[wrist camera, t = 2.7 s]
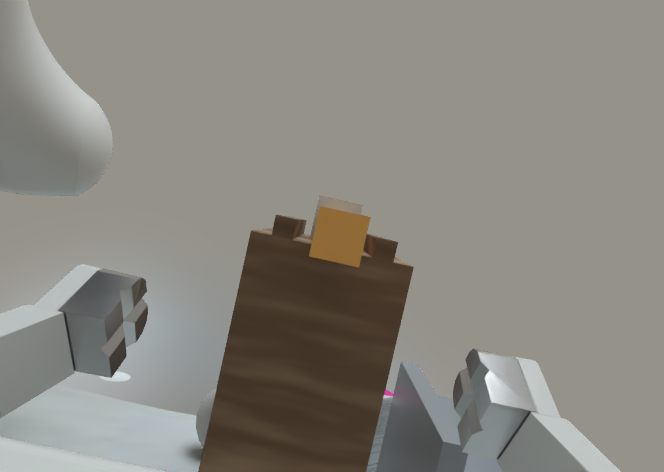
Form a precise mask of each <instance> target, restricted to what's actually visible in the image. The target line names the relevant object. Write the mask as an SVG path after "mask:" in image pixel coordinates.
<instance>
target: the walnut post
mask: <svg viewBox="0 0 664 472" xmlns="http://www.w3.org/2000/svg"><path fill="white" fill-rule="evenodd" d="M305 225H306V220H303V219H299V218H294V217H287V216H281V215H276V217H275V222H274V227H273V228H270V229H262V230H254V231H251V234H250V238H249V243H248V247H247V252H246V257H245V261H244V266H243V270H242V275H241V280H240V284H239V289H238V293H237V298H236V302H235V307H234V311H233V316H232V321H231V325H230V330H229V334H228V339H227V343H226V348H225V352H224V357H223V362H222V366H221V371H220V376H219V380H218V385H217V389H216V394H215V398H214V403H213V407H212V412H211V416H210V421H209V426H208V430H207V435H206V439H205V444H204V448H203V453H202V458H201V462H200V467H199V471H198V472H366V471H367V466H368V462H369V458H370V453H371V449H372V445H373V440H374V436H375V432H376V427H377V423H378V419H379V414H380V410H381V406H382V401H383V397H384V393H385V388H386V384H387V380H388V375H389V371H390V367H391V362H392V358H393V354H394V349H395V345H396V341H397V337H398V332H399V328H400V324H401V319H402V315H403V311H404V306H405V302H406V298H407V293H408V289H409V285H410V280H411V276H412V272H413V266H411V265H409V264H407V263H405V262H403V261H401V260H399V259H397V258H396V257H395V253H396V248H397V245H398V242H395V241H392V240H388V239H385V238H382V237H378V236H374V235H370V234H367V235H366V239H365V244H364V248H363V252H362V257H361V261H360V266H359V267H354V266H350V265H346V264H341V263H337V262H332V261H328V260H323V259H319V258H314V257H310V256H309V253H310V249H311V244H312V240H313V239H310V236H309V235H305V234H304V229H305Z"/></svg>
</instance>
